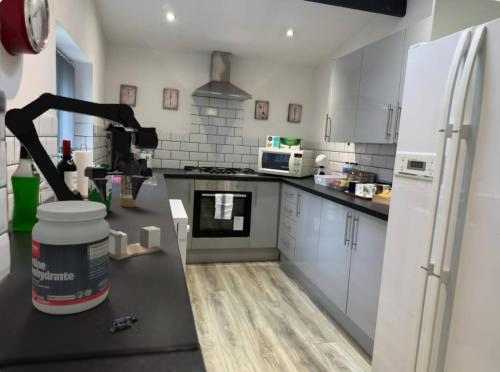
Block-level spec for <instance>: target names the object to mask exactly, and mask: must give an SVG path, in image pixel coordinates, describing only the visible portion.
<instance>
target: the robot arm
mask: <svg viewBox="0 0 500 372" xmlns="http://www.w3.org/2000/svg"><path fill="white" fill-rule="evenodd" d="M50 110H53V111H58V112H59V111H60V112H66V113H72V114H77V115H82V116H83V115H84V116H88V117H95V118H99V119H101V120H103V121H106V122H109V123H108V124H107V125H106V126H105V127H104V128H103V129H102V131H103V132H110V142H109V143H110V145H109V146H110V148H109V150H108V151H107V155H110V156H109V163H110V165H108V168H109V169H106V168H103V167H101V166H86V167H85V168H84V170H83V177H86V178H88V177H89V179H90V180H93V182H94V184H95V185H96V187H97V189H98V191H99V193H100V196H101V198H102V200H103V202H106V199H107V193H106V184H107V181H108V179H105V177H106V176H107V175H111V176H121V175H126V176H131V175H134V176H131V185H132V199H133V200H136V201H137V198H138V197H137V196H138V195H139V193H140V190H141V188H142V185H143V184H144V183H145V182H146V181H147V180H149V179H150V178H152V177H154V171H153V169H152V167H149V166H148V160H147V159H146V158H143V157H142V158H138V159H137V160H135V159H134V154H133V152H134V151H132V146H134V147H135V149H137V150H154V151H155V150H156V149H157V148H158V147H159V138H158V133H157V130H156V127H154V126H149V127H147V126H141V124H140V123H139V121H138V120H137V118H136V116H135V112H134V110H133V108H132V106H131V105H129V104H128V103H127V104H126V103H99V102H94V101H89V100H84V99H78V98H73V97H68V96H63V95H57V94H55V93H51V92H43V93H42V94H40V95H39V96H38V97H37V98H36V99H34V100H32V101H31V102H29V103H27V104H26V105H25V106H23V107H21V108H20V107H19V108H18V107H17V108H16V107H14V108H10V109H8V110H6V112H5V113H6V115H5V125H4V127H5V128H7V130H8V131H9V132H10V133H11V134H12V135H13V137H15V138H16V139H17V140H18V142H19V143H20V144H21V145H22V146H23V147H24V149H25V150H26V151H27V152H28V154H29V156H30V157H31V160H32V161H33V162H34V164H35V165H36V167H37V169H38V170H39V172H40V173H41V175H42V176H43V177H44V180H45V182H46V183H47V185H48V186H49V187H50V188H51V190H52V192H53V194H54V197H55V200H56V202H60V201H85V200H84V198H83V196H82V193H81V192H80V191H79V190H78V189H76V188H75V189H73V190H71V188H70V187H69V186H68V185H67V183H66V181H65V180H64V177H63V176H62V175H61V173H60V171H59V169H58V167H56V165H55V163H54V162H53V160H52V159H51V157H50V155H49V154H48V152H47V150H46V149H45V147H44V146H43V144H42V142H41V140H40V138H39V134H38V131H37V128H36V125H35V124H34V120H36V119H38V118H39V117H40V116H41V115H42V116H43V114H45V113H47V112H48V111H50ZM117 125H121V126H117ZM126 129H127V130H126ZM131 130H132V131H131ZM131 151H132V152H131Z"/></svg>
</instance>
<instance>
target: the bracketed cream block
mask: <svg viewBox="0 0 500 372" xmlns="http://www.w3.org/2000/svg"><path fill="white" fill-rule="evenodd" d="M127 245H128V234H127V233H125V232H123V231H117V230H114V229H112V228H110V232H109V253H111V254H113V255H116V256H117V257H118V256H121V254H123V253H127Z"/></svg>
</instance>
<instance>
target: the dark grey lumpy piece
mask: <svg viewBox="0 0 500 372" xmlns="http://www.w3.org/2000/svg"><path fill="white" fill-rule="evenodd" d="M138 321H139V318H138V317H137V316H135V315H134V316H124V317H123V316H121V317H120V318H117V319H115V320H114V321H113V322H112V324H111V327H110V328H109V329H108V331H109V333H110V334H117V333H118V332H121V331H125V330H129V329H131V328H132V327H133V324H135V323H137V322H138ZM135 331H138V329H136V330H135Z"/></svg>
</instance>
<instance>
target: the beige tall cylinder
mask: <svg viewBox="0 0 500 372" xmlns="http://www.w3.org/2000/svg"><path fill="white" fill-rule="evenodd" d="M131 152H133V154H134V159H135V160H138V152H137V151H132V150H131ZM131 176H134V175H131ZM131 176H126V175H120V184H119V185H120V191H119V194H120V198H119V205H120V207H122V208H134V207H135V206H136V205H137V199H136V200H133V199H132V185H131Z"/></svg>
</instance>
